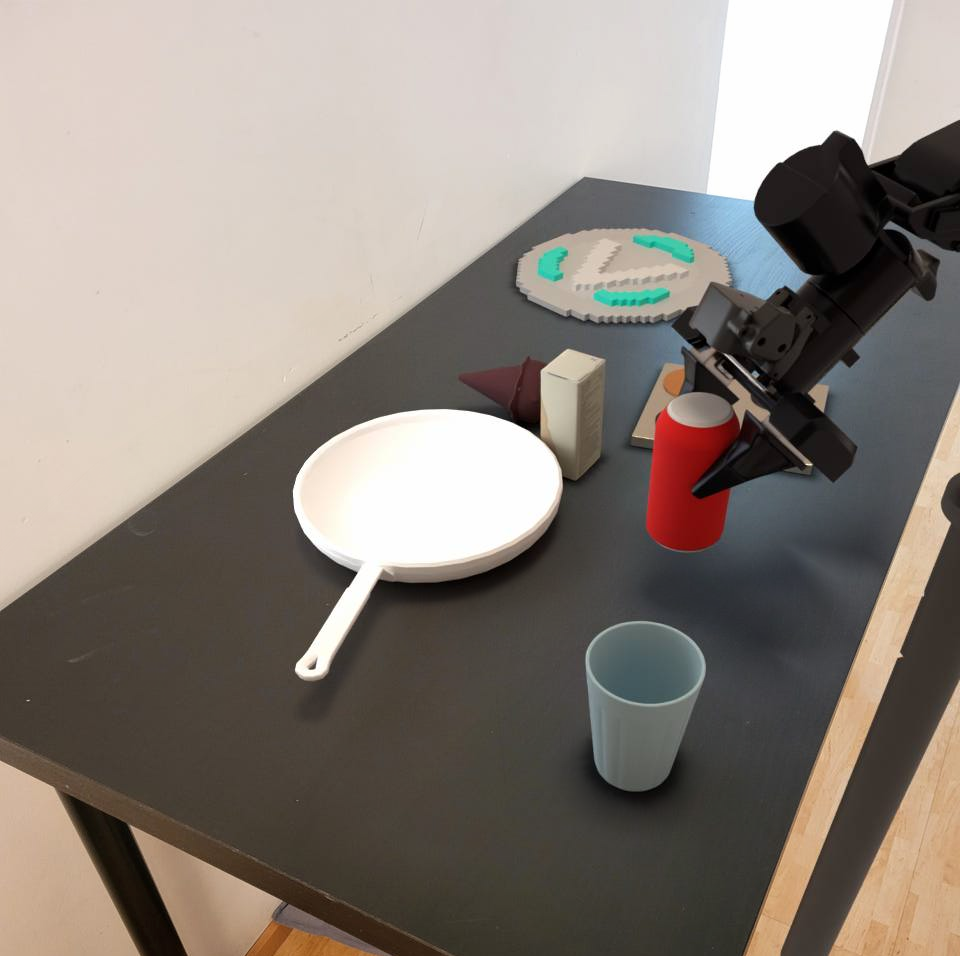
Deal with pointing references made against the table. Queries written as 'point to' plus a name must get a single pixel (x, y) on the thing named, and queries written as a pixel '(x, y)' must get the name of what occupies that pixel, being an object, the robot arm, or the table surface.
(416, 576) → the pan
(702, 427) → the beverage can
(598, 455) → the box
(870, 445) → the table surface
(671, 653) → the cup
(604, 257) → the grey teal round disc
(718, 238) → the table surface
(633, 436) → the stove
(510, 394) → the icecream
